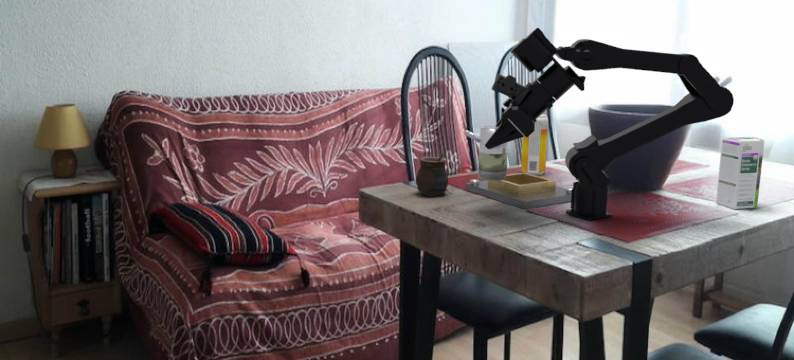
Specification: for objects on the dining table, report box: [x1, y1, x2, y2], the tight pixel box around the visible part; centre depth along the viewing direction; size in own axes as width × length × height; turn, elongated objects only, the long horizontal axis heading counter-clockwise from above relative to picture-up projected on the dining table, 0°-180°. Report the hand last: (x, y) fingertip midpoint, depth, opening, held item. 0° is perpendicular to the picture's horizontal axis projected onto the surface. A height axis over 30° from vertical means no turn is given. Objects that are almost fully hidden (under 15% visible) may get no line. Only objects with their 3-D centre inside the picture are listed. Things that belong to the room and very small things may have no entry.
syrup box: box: [715, 135, 765, 210], centre depth 144 cm, size 6×6×14 cm
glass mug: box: [464, 125, 509, 181], centre depth 137 cm, size 9×6×10 cm, turn 82°
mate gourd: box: [415, 152, 449, 197], centre depth 152 cm, size 7×8×10 cm
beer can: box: [520, 113, 549, 176], centre depth 175 cm, size 6×6×15 cm
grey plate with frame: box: [464, 172, 573, 210], centre depth 153 cm, size 20×16×4 cm
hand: (486, 144), depth 137 cm, fingers closed on glass mug, 5 cm apart
